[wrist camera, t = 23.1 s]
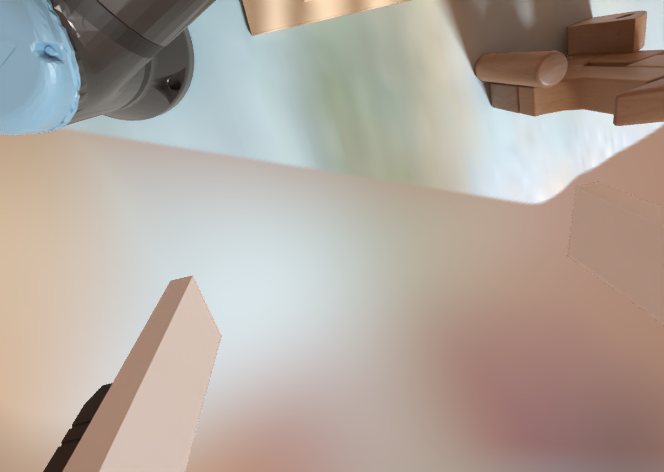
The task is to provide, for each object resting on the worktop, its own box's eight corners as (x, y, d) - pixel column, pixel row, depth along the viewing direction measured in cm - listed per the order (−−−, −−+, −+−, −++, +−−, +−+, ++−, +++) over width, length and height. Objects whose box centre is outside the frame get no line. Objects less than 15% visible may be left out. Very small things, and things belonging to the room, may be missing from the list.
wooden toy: (595, 13, 42) (925, -39, 20) (594, 71, 46) (879, 81, 23) (472, 58, 43) (657, 55, 21) (478, 112, 46) (647, 158, 24)
